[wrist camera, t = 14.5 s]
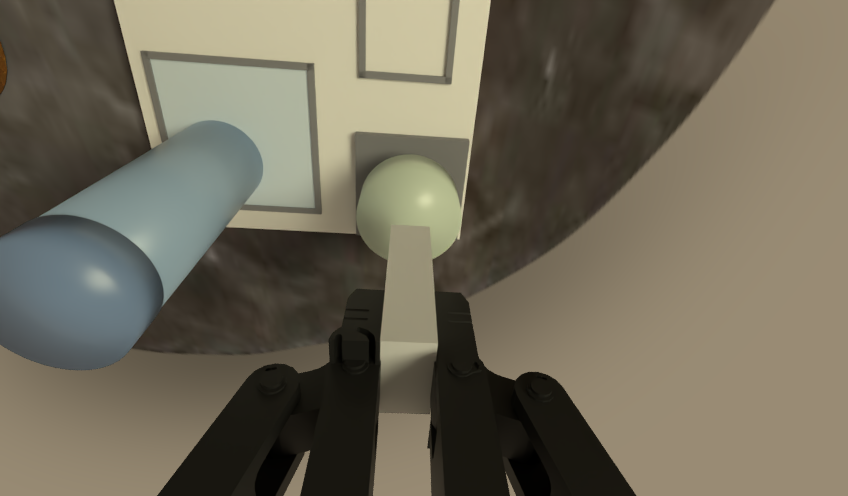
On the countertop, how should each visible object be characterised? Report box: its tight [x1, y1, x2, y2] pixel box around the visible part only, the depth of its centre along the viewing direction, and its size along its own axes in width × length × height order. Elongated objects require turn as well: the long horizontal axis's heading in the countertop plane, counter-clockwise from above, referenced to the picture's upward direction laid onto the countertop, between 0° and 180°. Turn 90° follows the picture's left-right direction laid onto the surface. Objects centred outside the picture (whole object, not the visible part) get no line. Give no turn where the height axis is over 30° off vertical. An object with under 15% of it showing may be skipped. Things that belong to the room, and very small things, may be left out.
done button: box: [356, 154, 462, 260], centre depth 21 cm, size 5×5×2 cm
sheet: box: [114, 0, 491, 240], centre depth 21 cm, size 14×16×1 cm
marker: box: [0, 120, 263, 370], centre depth 17 cm, size 4×4×12 cm
